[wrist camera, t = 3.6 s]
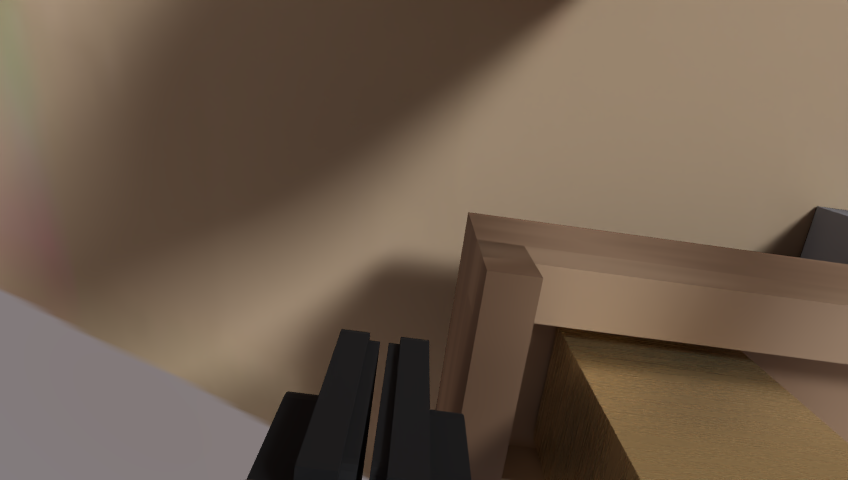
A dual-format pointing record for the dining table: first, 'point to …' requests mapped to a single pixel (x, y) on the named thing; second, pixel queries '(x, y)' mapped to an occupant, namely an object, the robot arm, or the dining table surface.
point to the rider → (674, 415)
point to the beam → (632, 318)
